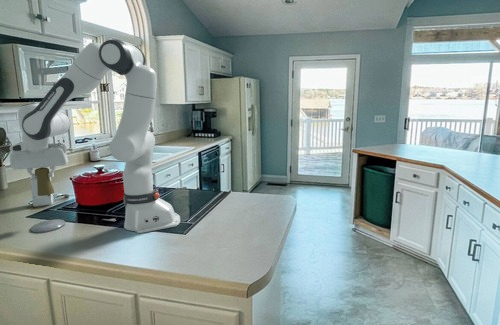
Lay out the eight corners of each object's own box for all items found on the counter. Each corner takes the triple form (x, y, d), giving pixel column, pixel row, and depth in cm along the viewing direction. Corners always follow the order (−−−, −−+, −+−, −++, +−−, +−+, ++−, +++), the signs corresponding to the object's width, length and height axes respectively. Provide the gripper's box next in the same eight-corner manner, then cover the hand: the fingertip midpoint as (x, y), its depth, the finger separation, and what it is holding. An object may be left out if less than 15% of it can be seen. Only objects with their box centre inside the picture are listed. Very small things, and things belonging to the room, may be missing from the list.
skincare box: (33, 207, 159) (28, 177, 156) (35, 203, 165) (31, 175, 162) (52, 204, 163) (48, 175, 159) (54, 201, 168) (50, 173, 165)
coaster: (68, 219, 141) (68, 218, 141) (59, 230, 130) (59, 228, 130) (38, 223, 139) (37, 221, 138) (26, 234, 127) (25, 232, 127)
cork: (46, 196, 131) (41, 169, 129) (33, 195, 132) (28, 169, 130) (57, 191, 137) (53, 166, 134) (46, 191, 138) (41, 166, 136)
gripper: (67, 141, 135) (72, 173, 138) (12, 145, 131) (19, 178, 134) (62, 143, 129) (68, 176, 132) (4, 147, 125) (11, 182, 128)
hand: (43, 177), depth 133 cm, fingers closed on cork, 5 cm apart
